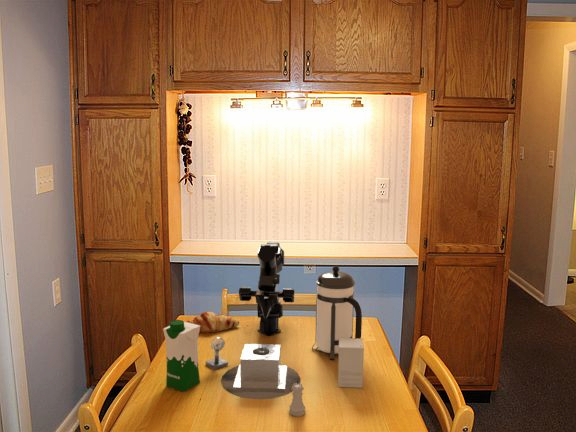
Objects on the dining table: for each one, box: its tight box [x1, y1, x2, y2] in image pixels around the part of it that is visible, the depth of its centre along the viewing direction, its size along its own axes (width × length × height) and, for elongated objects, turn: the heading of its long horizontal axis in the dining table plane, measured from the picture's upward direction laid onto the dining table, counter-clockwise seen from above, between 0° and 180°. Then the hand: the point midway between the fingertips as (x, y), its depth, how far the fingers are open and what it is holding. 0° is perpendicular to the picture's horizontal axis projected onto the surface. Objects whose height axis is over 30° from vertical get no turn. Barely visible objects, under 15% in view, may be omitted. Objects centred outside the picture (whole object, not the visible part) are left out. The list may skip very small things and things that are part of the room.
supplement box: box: [337, 337, 365, 389], centre depth 165 cm, size 7×7×13 cm
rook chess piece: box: [288, 382, 306, 417], centre depth 148 cm, size 4×4×8 cm
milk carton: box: [162, 319, 201, 393], centre depth 162 cm, size 9×9×20 cm
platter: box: [220, 363, 301, 400], centre depth 167 cm, size 24×24×1 cm
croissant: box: [186, 311, 240, 333], centre depth 207 cm, size 21×10×8 cm, turn 103°
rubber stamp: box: [205, 336, 229, 371], centre depth 176 cm, size 5×5×10 cm
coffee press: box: [311, 265, 363, 361], centre depth 185 cm, size 17×16×30 cm
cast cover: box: [233, 343, 288, 393], centre depth 166 cm, size 15×15×9 cm
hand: (265, 317), depth 184 cm, fingers closed
